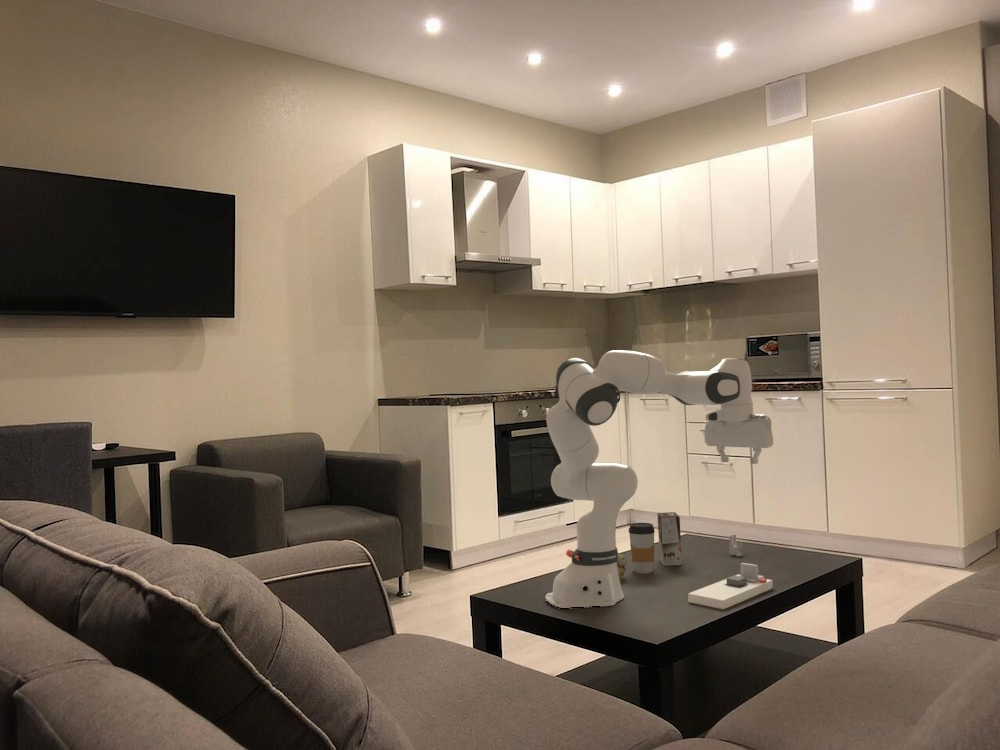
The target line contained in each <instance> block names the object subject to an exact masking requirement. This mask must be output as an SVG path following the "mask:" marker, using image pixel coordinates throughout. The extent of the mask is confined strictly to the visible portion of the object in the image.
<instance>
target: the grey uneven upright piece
mask: <svg viewBox="0 0 1000 750" xmlns="http://www.w3.org/2000/svg"><path fill="white" fill-rule="evenodd" d="M728 540H729V541H728V543H729V548H728V549H729V555H730V556H734V555H735V557H737V558H738V557H741V556H742V555H743V554H742V551H740V549H742V548H743V547H742V546H743V545H742V542H738V541H737V534H732V535H730V534H729V536H728Z"/></svg>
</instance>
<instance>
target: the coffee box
mask: <svg viewBox="0 0 1000 750" xmlns="http://www.w3.org/2000/svg"><path fill="white" fill-rule="evenodd" d="M657 531H658V535H657V536H658V553H659V561H660V563H661V564H662V566H664V567H666V566H681V565H682V564H683V563H682V562H683V561H682V560H683V558H682V540H681V539H682V537H681V517H680V516H679V514H678V513H676V512H673V511H672V512H670V511H669V512H668V511H666V512H657Z"/></svg>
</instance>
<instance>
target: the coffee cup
mask: <svg viewBox="0 0 1000 750" xmlns="http://www.w3.org/2000/svg"><path fill="white" fill-rule="evenodd" d="M655 532H656V531H655V527H654V524H653V523H650V522H633V523H631V524H629V528H628V533H629V541H630V542H629V544H630V545H629V546H630V554H631V563H632V567H633V568H632V569H633V571H634V573H636V574H651V573H653V571H654V570H655V569H654V562H655Z"/></svg>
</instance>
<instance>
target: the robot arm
mask: <svg viewBox="0 0 1000 750" xmlns="http://www.w3.org/2000/svg"><path fill="white" fill-rule="evenodd" d="M750 367H751V366H750V365H749V362H748V361H747V360H746V359H743V358H738V357H724V358H722V359H721V361H720V362H719V363H718V364H717V365H716V366H714V367H713V368H710V369H709V370H702V371H701V370H699V371H698V370H696V371H695V370H694V371H693V370H685V371H681V372H679V373H673V372H668V371H667V368H666V365H665V363H664V362H663V360H662V359H660V358H658V357H656V356H654V355H652V354H648V353H644V352H641V351H636V350H635V351H634V350H621V349H617V350H615V349H614V350H609V351H607V352H605V353H604V354H603V355H602V356H601V358H600V359H599V360H598V365H597V366H596V367H595V368H593V367H592V365H591V364H590V363H589V362H588V361H586V360H584V359H582V358H579V357H572V358H568V359H566V360H565V361H563V362H562V363H561V364H560V366H559V367H558V369H557V372H556V376H555V382H556V383H555V388H554V389H555V390H554V394H555V396H556V397H558V398H559V400H558V402H557V403H556V404H554V405H553V406H551V408H550V409H549V410H548V411H547V413H546V418H545V419H546V426H547V429H548V434H549V436H550V439H551V442H552V444H553V446H554V448H555V450H556V452H557V454H558V456H559V459H560V463H559V464H557V465H556V466H555V468H554V469H553V471H552V472H551V477H550V485H551V488H552V490H553V492H554V494H555V495H556V496H557V497H560V498H563V499H567V500H572V501H590V502H591V501H592V502H593V507H592V510H591V511H588V512H587V513H585V514H583V515H582V516H580V517H579V519H578V520H577V523H576V544H577V545H576V546H577V548H576V549H575V550H572V549H566V551H565V555H566V557H569V558H571V562H570V563H569V564H568V565H567V566H566V567H565V568H564V569H563V570H561V572H559V573H558V574H557V575H556V576H555V577H554V580H553V585H552V592H547V593H546V595H545V598H544V600H545V599H546V600H545V602H546V601H548V602H549V603H550V604H552V605H555V606H558V607H561V608H569V609H571V608H570V607H584V608H593V607H592V606H600V607H609V606H610V607H611V606H614V605H616V603H618V602H620V601H621V600H623V599H624V598H625V595H624V592H623V588H622V585H621V580H619V575H618V553H619V551H618V547H617V541H616V538H617V537H616V531H617V530H616V525H617V519H618V516H619V513H620V512H621V509H622V507H623V506H624V505H625V504H626V503H627V502H628V501H629V500H630V499H632V498H633V497H634V495H635V494H636V491H637V489H638V484H639V483H638V476H637V473H636V472H635V470H634V468H632V466H630V465H627V464H623V463H619V462H604V461H603V462H598V461H596V460H597V459H598V457H599V454H600V448H599V444H598V442H597V439H596V437H595V435H594V433H593V430H592V428H591V427H590V426H592V427H597V426H601V425H602V424H605V423H606V422H607V421H609V420H610V419H611V418H612V416H613V415H614V413H615V412H616V409H617V406H618V403H619V402H620V401H621V393H620V392H625V393H630V394H631V393H632V394H637V395H656V394H658V393H660V394H664V395H669V396H671V397H672V398H673V399H675V400H677V402H680V403H681V404H682V405H685V406H697V405H698V406H700V405H703V406H704V405H705V406H717V405H718V406H719V405H720V408H719V409H716V410H713V411H711V412H708V413H706V414H705V420H706V421H707V422H706V423H705V426H704V443H705V444H706V446H708V447H716V451H717V453H718V454H719V456H720V462H721V463H728V462H729V455H726V453H725V451H724V450H726V448H727V447H730V448H752V452H754V454H753V455H752V457H750V458H749V460H750V461H749V462H750V464H752V465H758V464H759V457H760V455H761V453H762V449H769V448H771V447H772V446H773V445H774V437H773V429H772V420H771V418H770V417H769V416H767V415H766V414H754V406H753V405H754V404H753V399H752V395H751V394H752V391H753V382H752V371H751V368H750ZM550 604H549V605H550ZM590 606H591V607H590Z"/></svg>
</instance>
